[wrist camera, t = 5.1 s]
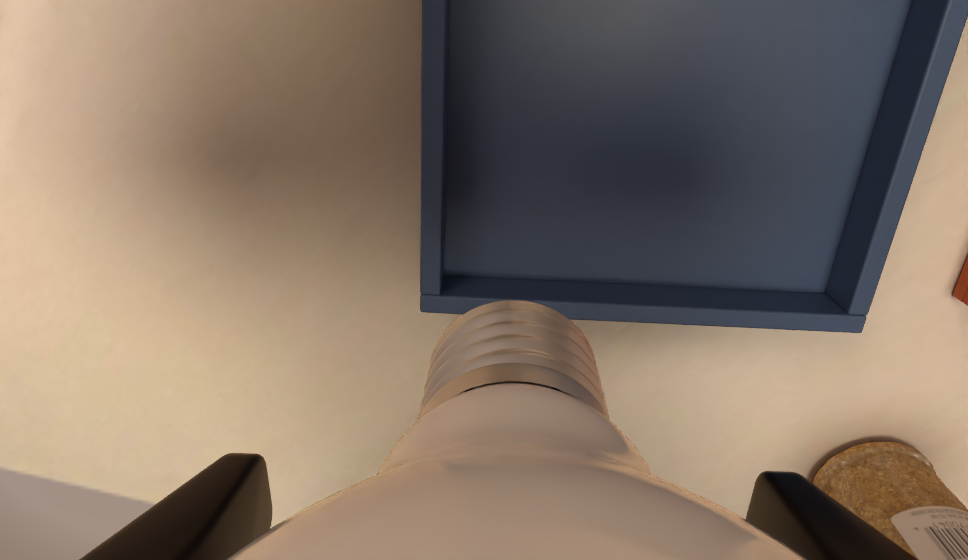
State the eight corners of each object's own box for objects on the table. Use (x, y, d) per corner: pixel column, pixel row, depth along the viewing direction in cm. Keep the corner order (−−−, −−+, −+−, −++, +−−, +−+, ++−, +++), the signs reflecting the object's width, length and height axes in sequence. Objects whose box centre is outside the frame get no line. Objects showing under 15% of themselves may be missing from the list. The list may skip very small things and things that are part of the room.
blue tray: (830, 303, 21) (862, 333, 19) (426, 284, 21) (420, 312, 19) (950, -90, 16) (1008, -100, 14) (430, -118, 16) (422, -130, 14)
